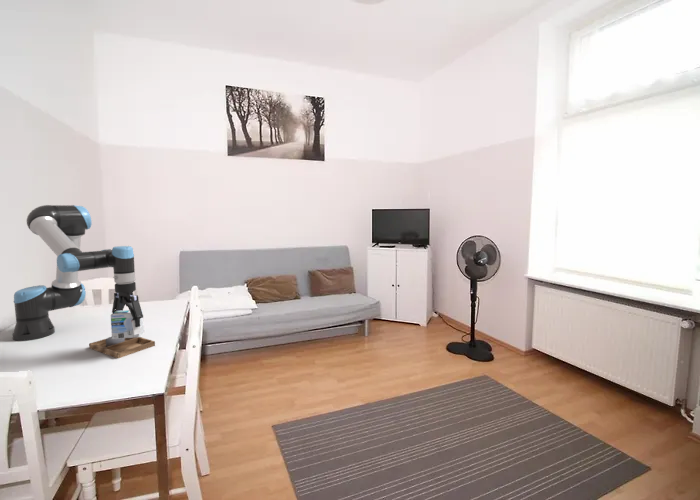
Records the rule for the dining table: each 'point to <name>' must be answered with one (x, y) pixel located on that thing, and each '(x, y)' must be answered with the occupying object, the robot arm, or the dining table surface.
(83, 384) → the dining table surface
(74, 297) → the robot arm
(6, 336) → the dining table surface
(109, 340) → the grey smooth rounded part
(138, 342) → the wooden divided tray
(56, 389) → the dining table surface
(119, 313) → the light bulb box
